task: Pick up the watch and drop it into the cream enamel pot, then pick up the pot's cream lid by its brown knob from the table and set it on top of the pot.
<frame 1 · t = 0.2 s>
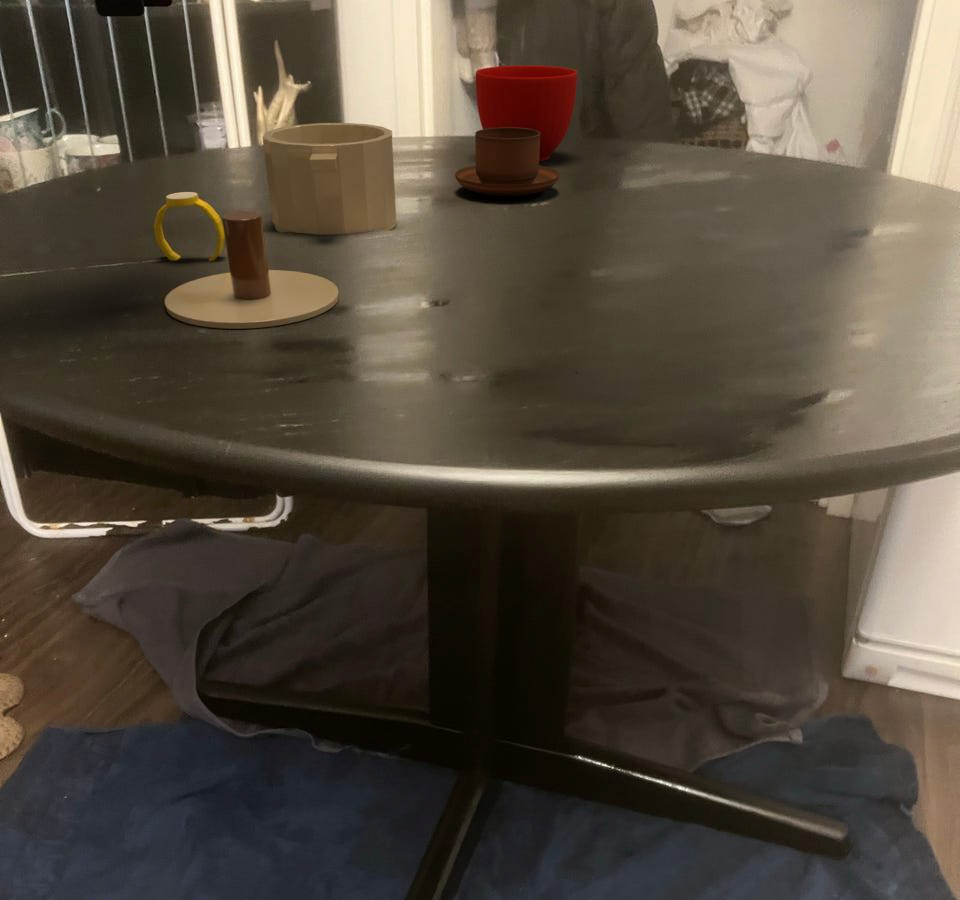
hand: (137, 10, 73), 20 cm above the table, tool pointing down, fingers open, 9 cm apart
ceramic cup: (523, 156, 131), on the table
pot: (335, 224, 101), on the table
watch: (195, 266, 90), on the table
cup and saucer: (506, 193, 114), on the table
lid: (253, 300, 79), point 1 cm above the table
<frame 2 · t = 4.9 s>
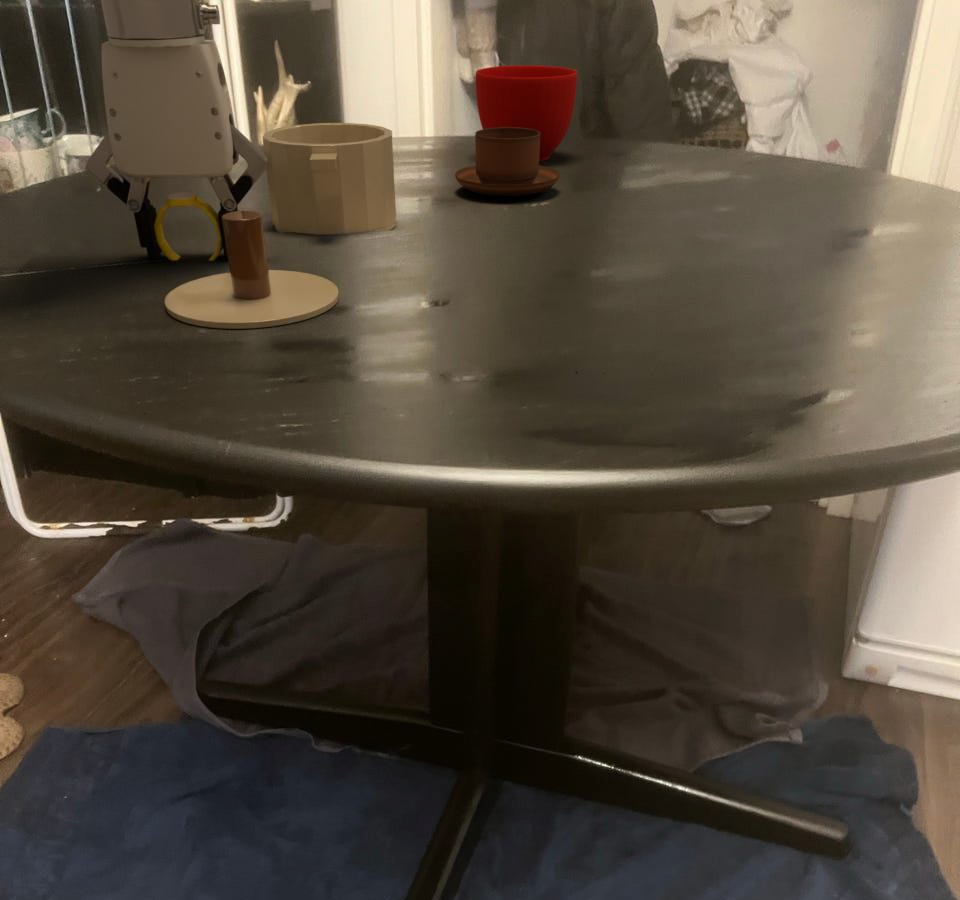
hand: (193, 253, 89), 1 cm above the table, tool pointing down, fingers closed on watch, 6 cm apart
watch: (195, 266, 90), on the table, touching gripper
everything else where it was.
when the fingers open (7 cm above the table, at t = 11.5 s): watch stays where it is, resting on pot.
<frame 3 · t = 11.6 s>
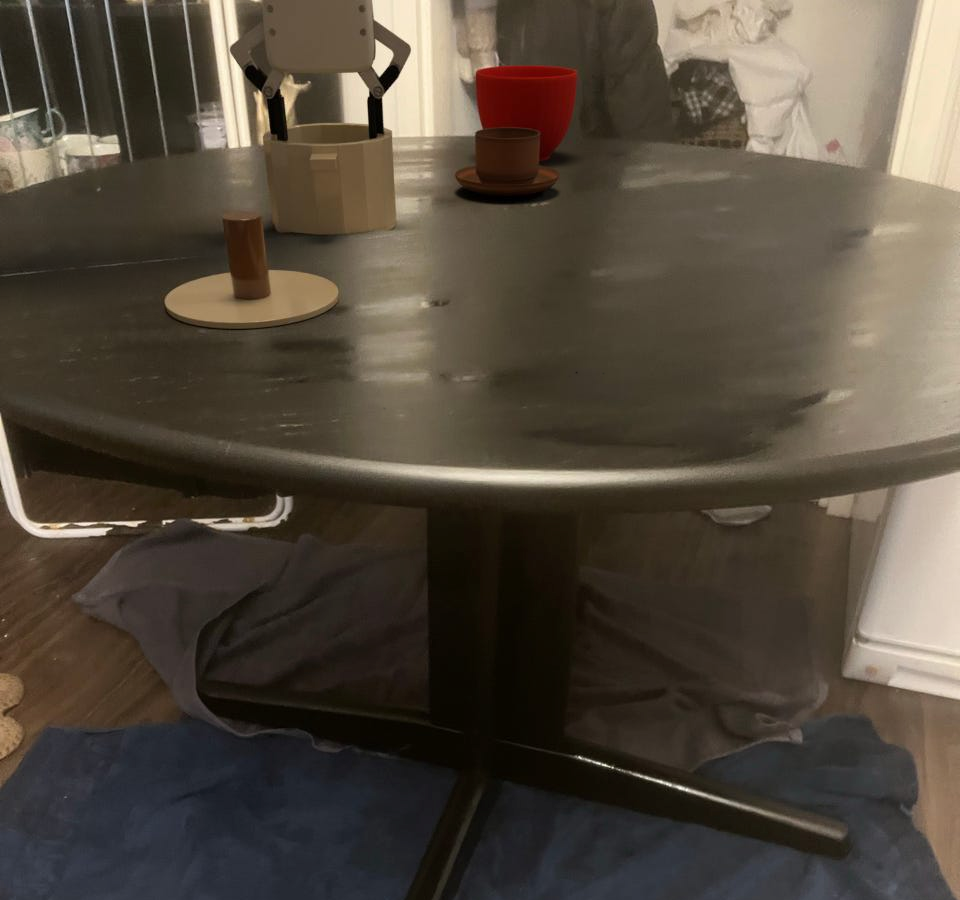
hand: (328, 141, 97), 8 cm above the table, tool pointing down, fingers open, 8 cm apart
watch: (332, 221, 101), resting on pot
everything else where it was.
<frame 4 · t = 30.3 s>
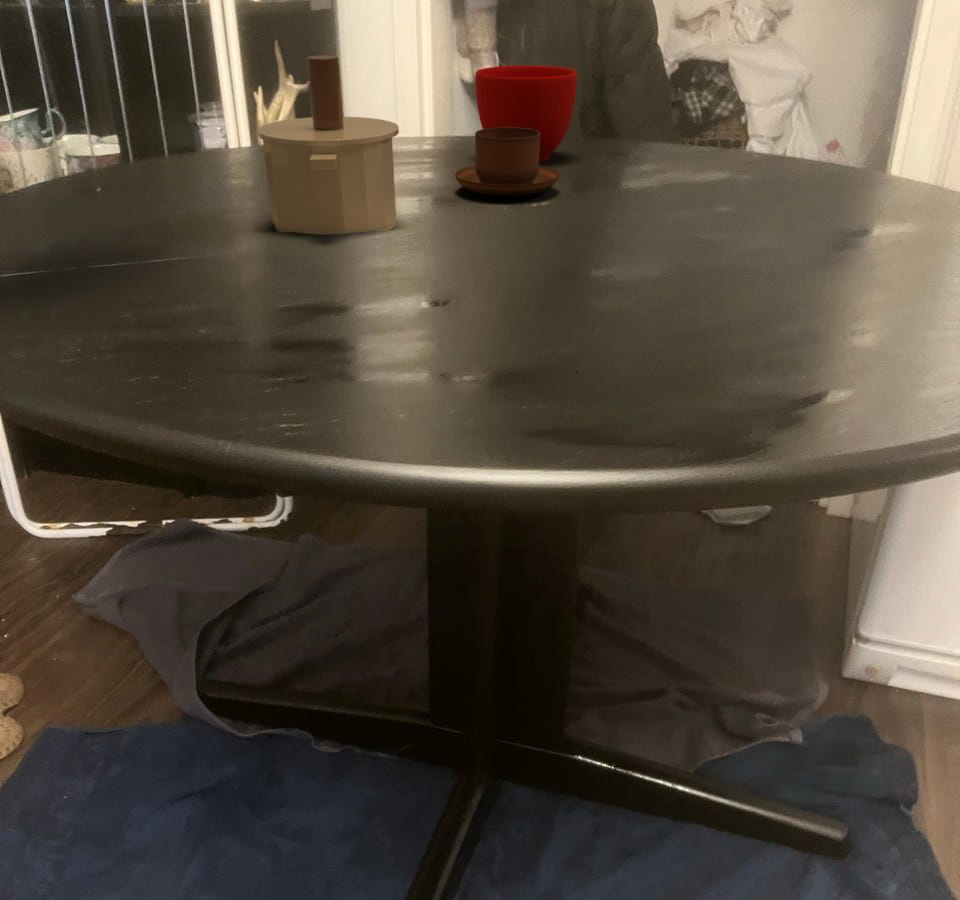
lid: (329, 133, 96), point 8 cm above the table, touching pot
everything else where it was.
at the end: watch inside the target area in the pot (0.3 cm from its centre), point 0.3 cm above the pot's base; lid 0.1 cm off-centre on the pot, point 8.5 cm above the pot's base; lid tilted 0° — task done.
